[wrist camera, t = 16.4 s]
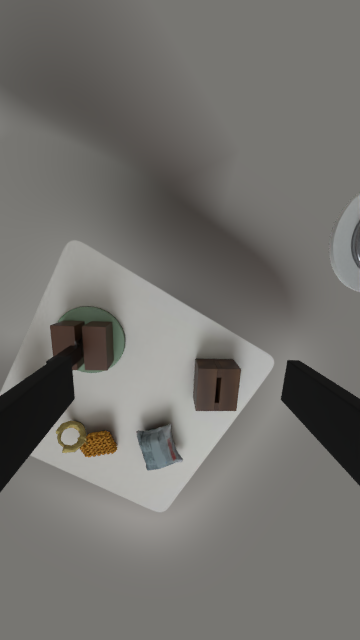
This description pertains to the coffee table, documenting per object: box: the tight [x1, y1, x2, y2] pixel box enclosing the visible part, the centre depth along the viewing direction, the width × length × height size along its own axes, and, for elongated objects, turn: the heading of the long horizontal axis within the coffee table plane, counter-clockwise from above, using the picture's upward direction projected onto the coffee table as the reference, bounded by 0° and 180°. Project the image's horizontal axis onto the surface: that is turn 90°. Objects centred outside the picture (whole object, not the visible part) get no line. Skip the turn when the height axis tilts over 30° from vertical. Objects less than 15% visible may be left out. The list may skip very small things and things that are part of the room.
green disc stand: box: [50, 306, 125, 373], centre depth 40 cm, size 15×15×5 cm
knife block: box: [193, 359, 241, 411], centre depth 43 cm, size 9×10×5 cm
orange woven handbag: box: [56, 421, 117, 457], centre depth 45 cm, size 7×10×15 cm
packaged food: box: [137, 423, 183, 470], centre depth 46 cm, size 9×12×5 cm
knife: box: [46, 337, 84, 367], centre depth 35 cm, size 2×4×13 cm, turn 178°
